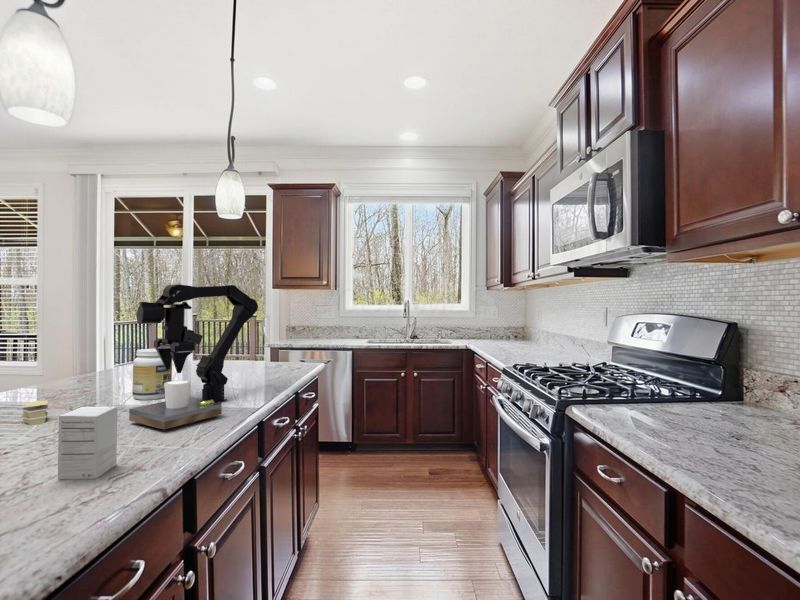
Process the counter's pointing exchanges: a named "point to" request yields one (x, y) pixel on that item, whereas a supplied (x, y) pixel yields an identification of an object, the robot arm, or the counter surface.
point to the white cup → (177, 393)
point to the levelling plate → (167, 414)
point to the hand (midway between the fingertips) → (173, 371)
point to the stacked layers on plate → (35, 412)
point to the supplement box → (87, 442)
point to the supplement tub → (149, 375)
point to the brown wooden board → (176, 422)
